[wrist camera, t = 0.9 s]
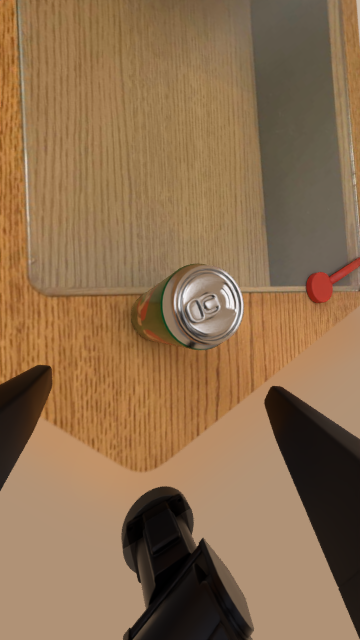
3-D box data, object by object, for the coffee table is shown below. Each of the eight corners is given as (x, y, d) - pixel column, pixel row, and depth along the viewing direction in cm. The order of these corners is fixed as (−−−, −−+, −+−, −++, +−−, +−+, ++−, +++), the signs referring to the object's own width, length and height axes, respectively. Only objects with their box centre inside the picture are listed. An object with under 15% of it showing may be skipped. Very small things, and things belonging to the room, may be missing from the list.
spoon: (312, 307, 31) (320, 307, 30) (302, 280, 31) (310, 278, 30) (364, 271, 36) (372, 269, 35) (355, 247, 36) (364, 244, 35)
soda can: (183, 329, 24) (261, 329, 13) (141, 348, 22) (189, 368, 11) (166, 286, 23) (231, 247, 12) (122, 302, 21) (151, 274, 10)
